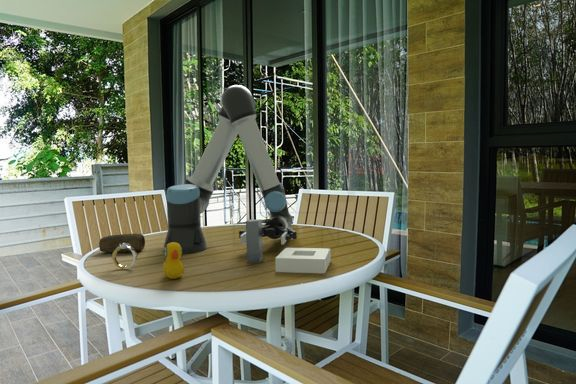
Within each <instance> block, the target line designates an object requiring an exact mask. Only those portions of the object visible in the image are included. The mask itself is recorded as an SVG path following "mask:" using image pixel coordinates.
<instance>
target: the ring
mask: <svg viewBox="0 0 576 384" xmlns="http://www.w3.org/2000/svg"><path fill="white" fill-rule="evenodd" d="M120 248H121V249H125V248H128V249H129V250H131V252H130V253H131V254H132V256H133V257H132V258H133V259H132V262H131V264H130V265H121V264H120V263H119V262H118V260H117V251H119V250H120ZM137 258H138V254H137V251H135V249H134V248H132V247H130V244H129V243H128V244H127V243H123V244H122V245H121V244H120V246H119V247H117V248H116V249H115V250H114V252H112V257H111V259H112V262H113V263H114V265H115V266H116V267H117V268H119V269H121V270H124V269H126V270H128V269H130V268H132V267H133V266H134V265H135V264H136V262H137Z"/></svg>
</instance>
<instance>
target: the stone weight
mask: <svg viewBox="0 0 576 384" xmlns="http://www.w3.org/2000/svg"><path fill="white" fill-rule="evenodd" d="M144 236H145V235H144V234H142V233H121V234H112V235H107V236H104V237H101V238H100V239H99V242H98V247H99V248H98V249H99V251H100V252H103V253H112V254H113V252H114V250H115V249H116V248H117V247H119V246H120V244H121V245H122V244H123V243H127V244H128V243H129V244H130V247H132V248H134V249H135V251H136V252H140V251H141V250H142V251H143V250H144V249H145V245H146V238H145V237H144ZM119 252H120V253H132V252H131V250H129V249H128V248H125V249H121V248H120V250H119V251H117V253H119ZM117 253H116V254H117Z"/></svg>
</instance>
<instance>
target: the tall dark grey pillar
mask: <svg viewBox="0 0 576 384" xmlns="http://www.w3.org/2000/svg"><path fill="white" fill-rule="evenodd" d="M262 222H263V220H262V219H248V220H246V221H245V229H246V242H245V244H246V245H245V246H246V263H251V264H256V263H257V264H260V263H261V262H262V261H263V260H264V258H263V257H264V255H263V251H264V250H263V237H262V227H263V223H262Z"/></svg>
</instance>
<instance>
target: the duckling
mask: <svg viewBox="0 0 576 384" xmlns="http://www.w3.org/2000/svg"><path fill="white" fill-rule="evenodd" d="M182 254H183V253H182V248H181V246H180V244H178V243H176V242H172V243H169V244H167V245H166V247H165V252H164V257H165V261H163V266H162V267H163V269H162V271H163V275H164V276H166V277H167V278H168V279H170V280H175V279H179V278H181V276H182V275H183V274H184V273H185V266H184V264H183V263H182V261H181V258H182Z"/></svg>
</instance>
